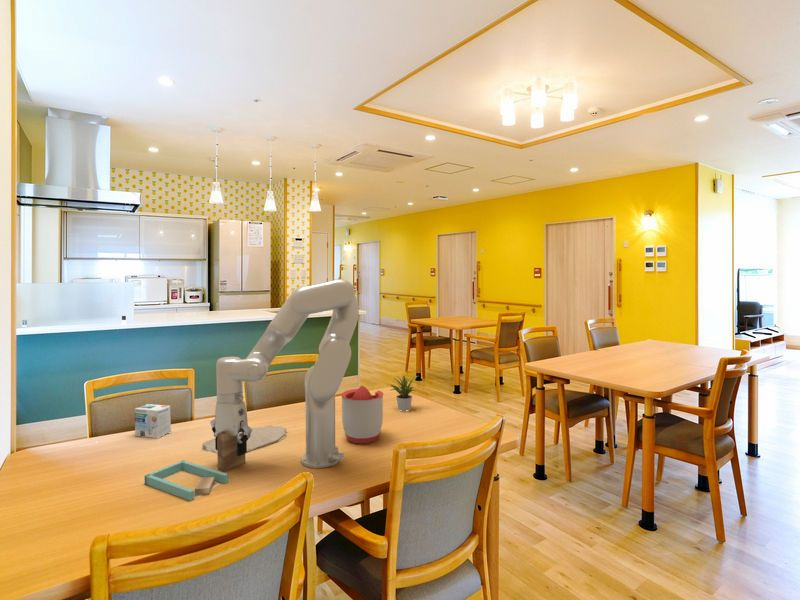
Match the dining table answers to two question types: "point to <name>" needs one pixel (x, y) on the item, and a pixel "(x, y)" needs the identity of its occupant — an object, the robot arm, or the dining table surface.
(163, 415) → the light bulb box
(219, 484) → the offcut slab lower
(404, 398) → the house plant
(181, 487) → the open frame
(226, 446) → the tall oak sheet
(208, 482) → the offcut slab upper
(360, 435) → the citrus juicer
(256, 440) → the stone tablet
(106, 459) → the dining table surface
